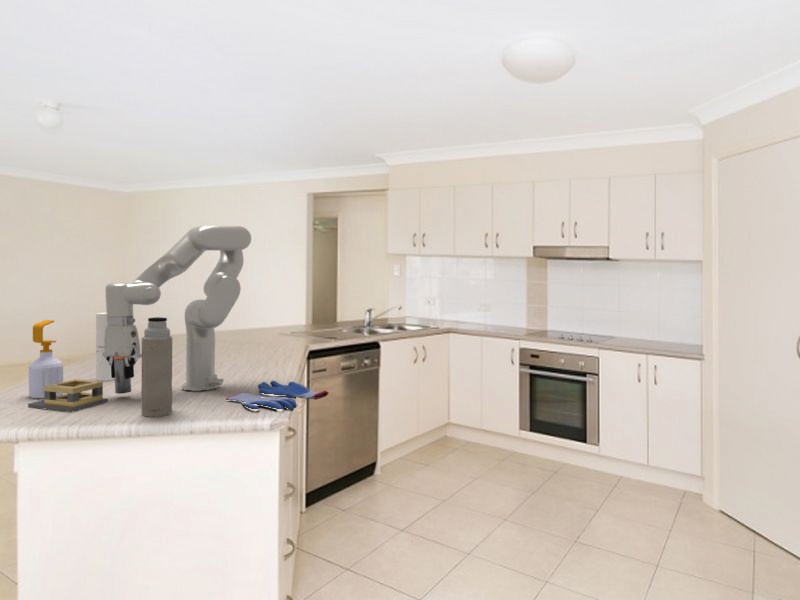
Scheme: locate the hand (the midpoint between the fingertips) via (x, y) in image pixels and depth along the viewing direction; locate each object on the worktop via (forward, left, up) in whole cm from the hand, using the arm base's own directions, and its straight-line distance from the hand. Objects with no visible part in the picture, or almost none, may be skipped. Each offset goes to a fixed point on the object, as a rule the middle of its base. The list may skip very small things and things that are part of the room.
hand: (122, 376), depth 161 cm
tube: (0, 0, -5) cm, 5 cm away
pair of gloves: (-47, -16, -8) cm, 50 cm away
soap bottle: (+25, +6, -7) cm, 26 cm away
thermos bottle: (-22, +11, -7) cm, 26 cm away
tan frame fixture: (+9, +12, -7) cm, 16 cm away
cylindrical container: (+28, -21, -7) cm, 35 cm away
